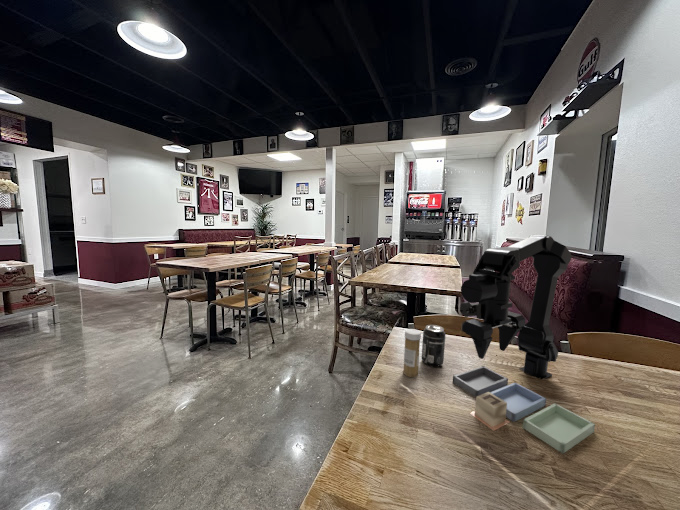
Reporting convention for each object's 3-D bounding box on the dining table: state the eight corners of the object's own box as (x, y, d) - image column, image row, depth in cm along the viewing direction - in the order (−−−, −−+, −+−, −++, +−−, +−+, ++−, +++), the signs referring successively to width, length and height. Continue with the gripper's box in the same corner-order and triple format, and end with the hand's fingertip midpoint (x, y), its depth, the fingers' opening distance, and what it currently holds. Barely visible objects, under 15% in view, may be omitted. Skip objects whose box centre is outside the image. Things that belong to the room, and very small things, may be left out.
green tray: (553, 412, 66) (554, 403, 66) (593, 434, 59) (595, 423, 59) (522, 429, 60) (523, 419, 60) (562, 456, 53) (564, 444, 53)
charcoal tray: (482, 373, 83) (483, 365, 83) (507, 387, 76) (508, 378, 76) (452, 384, 77) (453, 375, 77) (476, 399, 70) (477, 390, 70)
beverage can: (425, 355, 93) (427, 322, 92) (445, 362, 89) (448, 327, 88) (418, 363, 88) (420, 328, 86) (439, 370, 84) (442, 333, 82)
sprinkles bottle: (421, 375, 81) (424, 332, 80) (411, 379, 79) (413, 335, 77) (409, 368, 85) (412, 327, 83) (399, 372, 82) (401, 330, 81)
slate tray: (514, 390, 75) (515, 382, 74) (545, 407, 68) (546, 398, 68) (483, 404, 69) (484, 394, 68) (513, 424, 62) (514, 414, 62)
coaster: (485, 408, 67) (485, 406, 67) (509, 424, 62) (510, 422, 62) (469, 415, 64) (469, 413, 64) (493, 433, 59) (493, 430, 59)
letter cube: (486, 408, 66) (488, 391, 65) (505, 421, 62) (507, 402, 61) (474, 414, 64) (476, 396, 63) (492, 427, 60) (494, 408, 59)
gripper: (488, 286, 81) (485, 335, 83) (445, 294, 73) (442, 349, 75) (528, 295, 72) (523, 351, 74) (484, 306, 63) (480, 368, 65)
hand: (491, 354), depth 72 cm, fingers open, 9 cm apart
